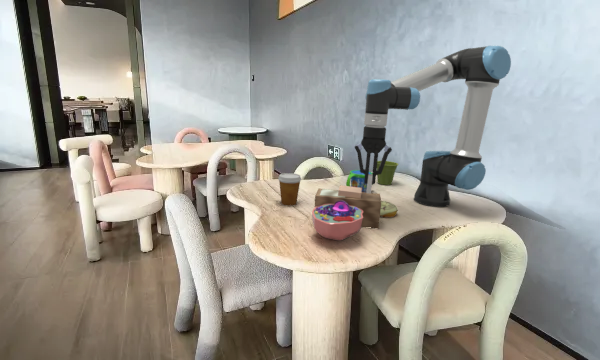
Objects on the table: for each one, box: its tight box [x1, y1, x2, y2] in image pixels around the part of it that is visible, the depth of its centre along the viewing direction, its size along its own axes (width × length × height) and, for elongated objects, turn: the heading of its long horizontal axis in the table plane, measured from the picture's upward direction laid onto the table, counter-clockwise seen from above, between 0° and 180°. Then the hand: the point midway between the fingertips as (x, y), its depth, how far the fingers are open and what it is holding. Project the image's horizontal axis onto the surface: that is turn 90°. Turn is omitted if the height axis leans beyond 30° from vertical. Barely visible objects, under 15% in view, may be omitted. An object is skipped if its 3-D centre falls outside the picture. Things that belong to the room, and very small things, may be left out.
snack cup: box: [345, 169, 374, 193], centre depth 164 cm, size 16×10×10 cm
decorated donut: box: [380, 200, 399, 218], centre depth 139 cm, size 11×12×4 cm
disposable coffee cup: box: [277, 172, 302, 207], centre depth 145 cm, size 10×10×12 cm
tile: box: [338, 185, 361, 199], centre depth 126 cm, size 2×7×8 cm
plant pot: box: [376, 160, 399, 186], centre depth 183 cm, size 12×12×11 cm
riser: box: [314, 188, 382, 229], centre depth 128 cm, size 23×10×10 cm, turn 80°
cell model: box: [311, 201, 363, 241], centre depth 114 cm, size 17×20×11 cm
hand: (368, 192), depth 125 cm, fingers closed
